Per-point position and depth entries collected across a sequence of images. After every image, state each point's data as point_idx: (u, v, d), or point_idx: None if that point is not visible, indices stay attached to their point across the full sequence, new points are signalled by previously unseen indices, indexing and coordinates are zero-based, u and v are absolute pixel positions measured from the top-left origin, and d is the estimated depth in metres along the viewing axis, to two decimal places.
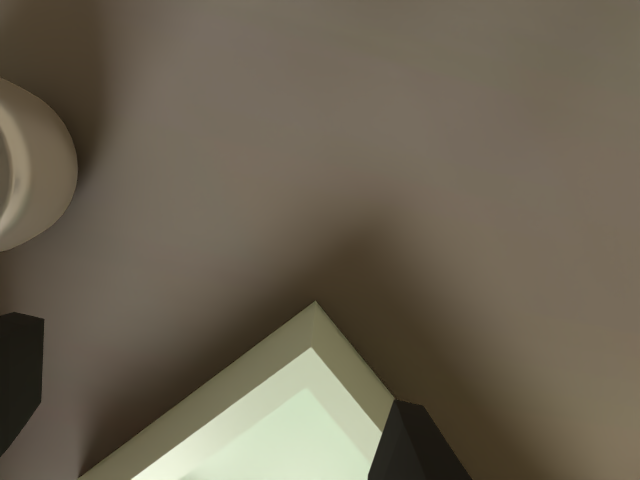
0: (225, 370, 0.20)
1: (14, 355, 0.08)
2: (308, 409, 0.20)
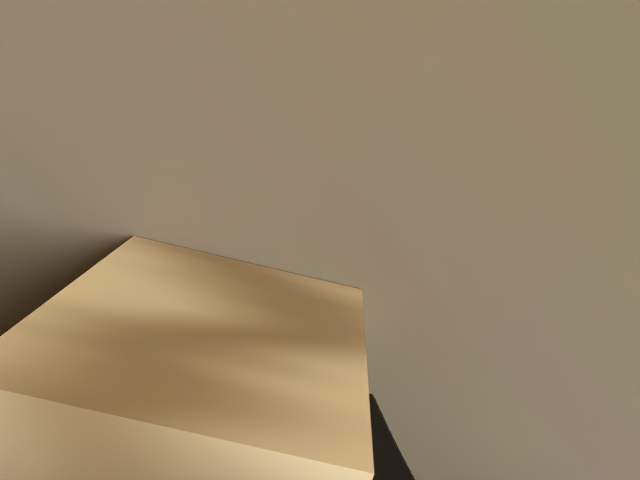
0: None
1: None
2: None
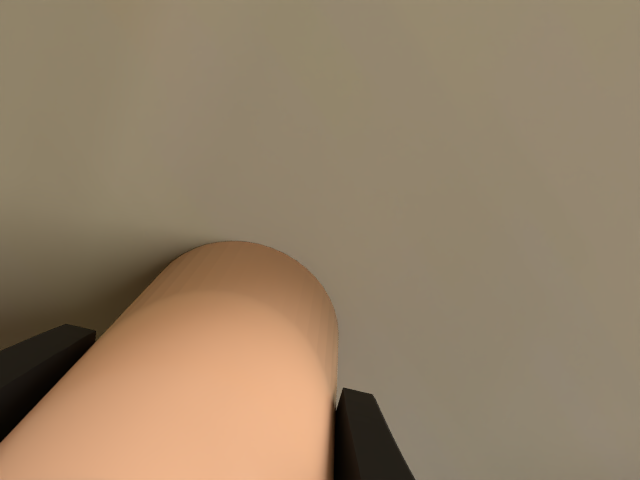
0: None
1: (70, 368, 0.09)
2: None
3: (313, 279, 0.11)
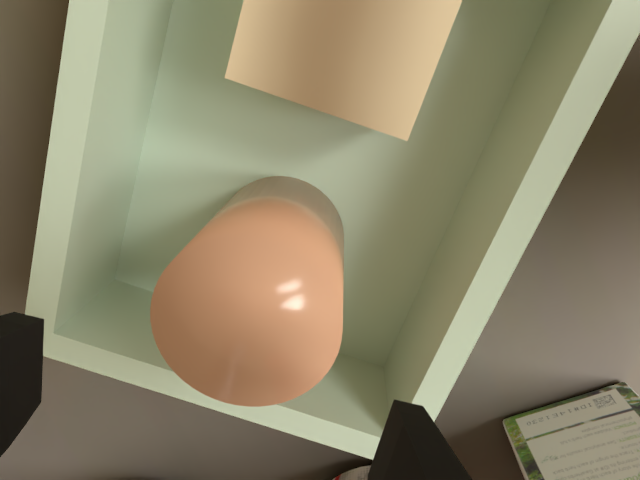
0: None
1: (14, 355, 0.08)
2: (176, 242, 0.19)
3: (325, 196, 0.18)
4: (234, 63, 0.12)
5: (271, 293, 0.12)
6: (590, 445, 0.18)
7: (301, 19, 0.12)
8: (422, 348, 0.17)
